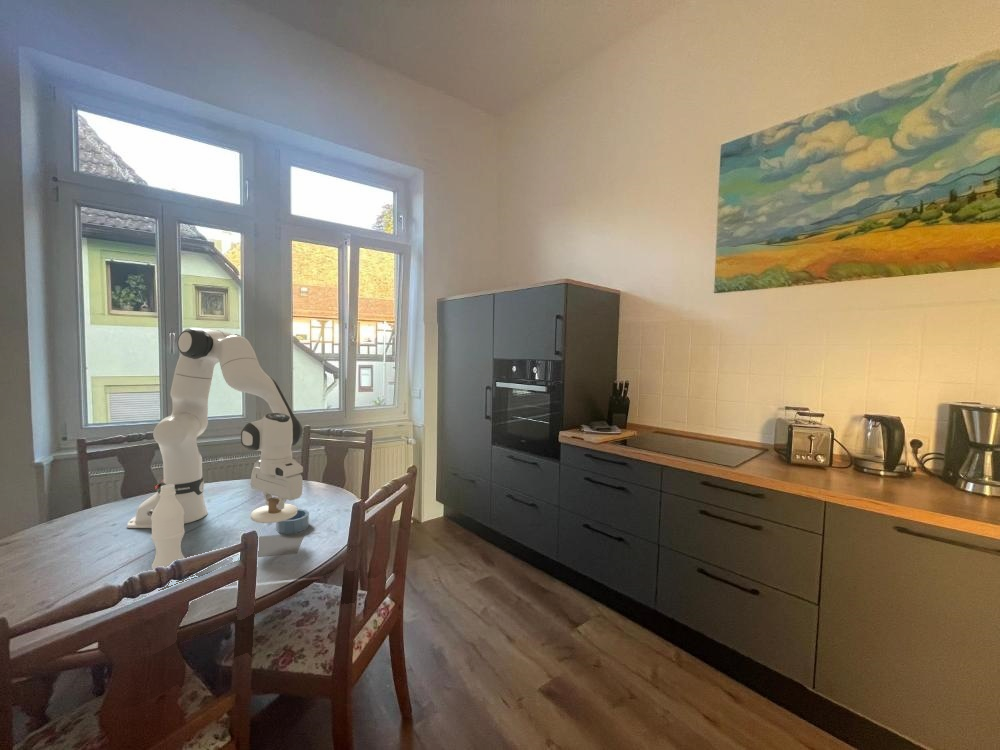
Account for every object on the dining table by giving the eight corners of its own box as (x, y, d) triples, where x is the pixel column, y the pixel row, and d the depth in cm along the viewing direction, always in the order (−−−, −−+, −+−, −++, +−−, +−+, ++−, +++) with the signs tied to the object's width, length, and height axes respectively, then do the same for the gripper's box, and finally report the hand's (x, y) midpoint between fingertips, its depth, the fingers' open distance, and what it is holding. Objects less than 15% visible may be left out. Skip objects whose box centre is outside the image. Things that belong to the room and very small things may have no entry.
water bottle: (183, 563, 118) (182, 479, 116) (186, 573, 113) (185, 486, 111) (150, 571, 113) (149, 485, 111) (152, 583, 108) (151, 492, 106)
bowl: (273, 536, 136) (273, 522, 136) (280, 523, 146) (280, 510, 145) (305, 533, 139) (305, 519, 138) (310, 521, 148) (310, 508, 148)
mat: (245, 559, 121) (245, 557, 121) (259, 538, 134) (259, 536, 134) (296, 555, 125) (296, 553, 125) (305, 534, 138) (305, 532, 138)
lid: (244, 524, 120) (245, 507, 120) (258, 507, 133) (258, 492, 133) (292, 521, 124) (292, 506, 124) (301, 505, 136) (301, 491, 136)
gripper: (245, 461, 129) (244, 503, 130) (288, 473, 120) (287, 518, 121) (264, 457, 135) (263, 497, 135) (306, 468, 126) (305, 511, 127)
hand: (274, 507), depth 128 cm, fingers closed on lid, 4 cm apart
